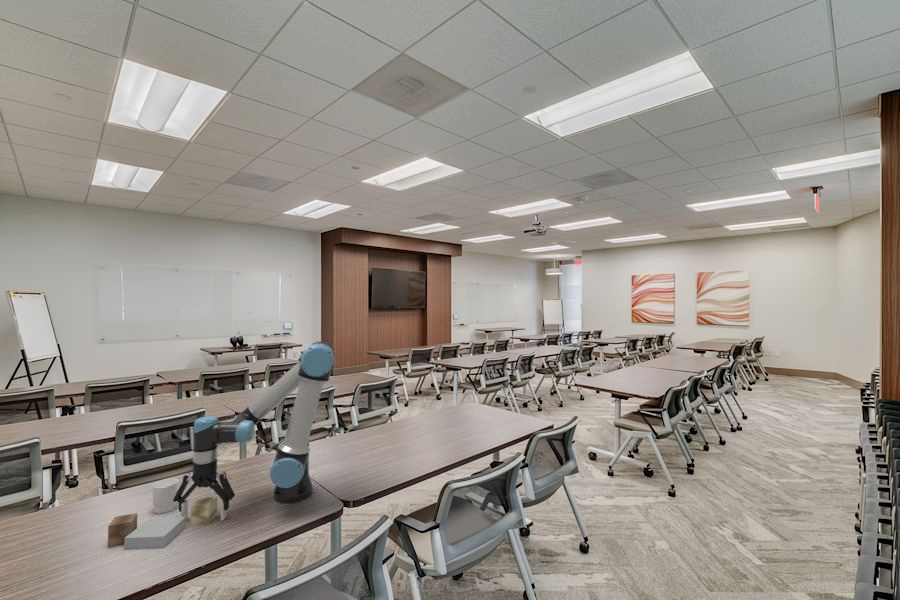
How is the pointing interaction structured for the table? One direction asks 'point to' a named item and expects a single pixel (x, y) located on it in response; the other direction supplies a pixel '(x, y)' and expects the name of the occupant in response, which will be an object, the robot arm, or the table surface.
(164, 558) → the table surface
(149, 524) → the grey block
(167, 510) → the white cup
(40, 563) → the table surface
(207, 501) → the maple block
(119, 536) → the walnut block
